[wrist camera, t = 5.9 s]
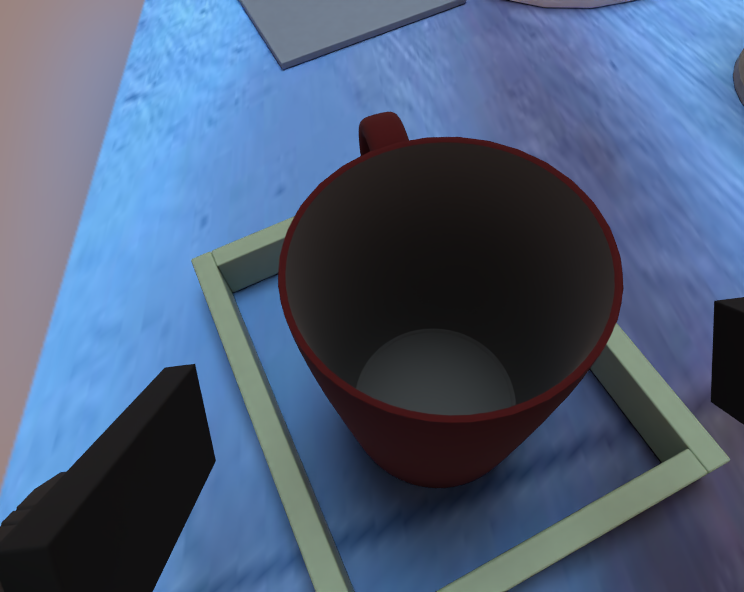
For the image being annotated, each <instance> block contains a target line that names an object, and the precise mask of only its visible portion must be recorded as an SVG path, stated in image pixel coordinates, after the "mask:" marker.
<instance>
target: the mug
mask: <svg viewBox="0 0 744 592" xmlns="http://www.w3.org/2000/svg"><path fill="white" fill-rule="evenodd" d="M359 145H360V154H361V156H360V157H359V158H357V159H355V160H353V161H351V162H349V163H347V164H345V165H344V166H342V167H341V168H339V169H338V170H337V171H335V172H334V173H333V174H331V175H330V176H329V177H328V178H326V179H325V180H324V181H323V182H321V183H320V184H319V185H318V186H317V187H316V189H315V190H314V191H313V192H312V193H311V194H310V195H309V196H308V198H307V199H306V200H305V201H304V202H303V204H302V205H301V206H300V208H299V210H298V211H297V213H296V215H295V216H294V218H293V220H292V222H291V224H290V226H289V228H288V230H287V233H286V236H285V239H284V242H283V245H282V249H281V253H280V257H279V269H278V288H279V294H280V300H281V304H282V308H283V312H284V315H285V318H286V321H287V324H288V326H289V328H290V331H291V333H292V335H293V338H294V340H295V342H296V344H297V346H298V348H299V350H300V352H301V354H302V356H303V357H304V359H305V361H306V363H307V365H308V367H309V368H310V370H311V372H312V374H313V375H314V377H315V379H316V381H317V382H318V384H319V385H320V387H321V388H322V390H323V392H324V393H325V395H326V396H327V398H328V399H329V401H330V402H331V404H332V405H333V407H334V408H335V410H336V411H337V413H338V414H339V415H340V417H341V418H342V420H343V421H344V423H345V424H346V425H347V427H348V428H349V430H350V431H351V432H352V434H353V435H354V437H355V438H356V439H357V441H358V442H359V443H360V445H361V446H362V448H363V449H364V450H365V452H366V453H367V454H368V455H369V456H370V457H371V459H372V460H373V461H374V462H375V463H376V464H377V465H379V466H380V467H381V468H382V469H383V470H385V471H386V472H388V473H389V474H390V475H392V476H394V477H396V478H398V479H400V480H402V481H404V482H407V483H410V484H413V485H417V486H422V487H428V488H448V487H455V486H459V485H463V484H466V483H469V482H472V481H474V480H476V479H478V478H480V477H482V476H483V475H485V474H486V473H488V472H489V471H491V470H492V469H493V468H494V467H496V466H497V465H498V464H499V463H500V462H501V461H503V460H504V459H505V458H506V457H507V456H508V455H509V454H510V453H511V452H512V451H513V450H515V449H516V448H517V447H518V446H519V445H520V444H521V443H522V442H523V441H524V440H525V439H526V438H527V437H528V436H529V435H531V434H532V433H533V432H534V431H535V430H536V429H537V428H538V427H539V426H540V425H541V424H542V423H543V422H544V421H545V420H546V419H547V418H548V417H549V416H550V415H551V413H552V412H553V411H554V410H555V409H556V408H557V407H558V406H559V405H560V404H561V403H562V402H563V401H564V400H565V399H566V398H567V397H568V396H569V394H570V393H571V392H572V391H573V390H574V388H575V387H576V386H577V385H578V384H579V382H580V381H581V380H582V379H583V377H584V376H585V375H586V373H587V372H588V371H589V369H590V368H591V367H592V365H593V364H594V362H595V361H596V360H597V358H598V357H599V356H600V354H601V352H602V351H603V349H604V348H605V346H606V344H607V342H608V340H609V338H610V336H611V334H612V332H613V330H614V327H615V325H616V322H617V320H618V316H619V311H620V307H621V302H622V294H623V273H622V265H621V258H620V254H619V251H618V248H617V245H616V242H615V239H614V237H613V234H612V232H611V229H610V227H609V225H608V224H607V222H606V220H605V219H604V217H603V216H602V214H601V213H600V211H599V210H598V208H597V207H596V205H595V204H594V202H593V201H592V200H591V199H590V198H589V197H588V196H587V195H586V194H585V193H584V192H583V191H582V190H581V189H580V188H579V187H578V186H577V185H576V184H575V183H574V182H573V181H572V180H571V179H569V178H568V177H567V176H565V175H564V174H562V173H561V172H559V171H558V170H557V169H555V168H554V167H552V166H551V165H549V164H548V163H546V162H544V161H542V160H540V159H538V158H536V157H534V156H531V155H529V154H527V153H525V152H523V151H521V150H518V149H515V148H512V147H508V146H505V145H501V144H498V143H494V142H491V141H485V140H478V139H470V138H462V137H430V138H421V139H416V140H410V141H409V139H408V136H407V133H406V131H405V128H404V126H403V124H402V122H401V120H400V118H399V117H398V116H397V114H395V113H393V112H383V113H379V114H375V115H371V116H368V117H366V118H364V119H363V120H362V121H361V122H360V125H359Z"/></svg>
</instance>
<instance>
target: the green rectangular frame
mask: <svg viewBox="0 0 744 592" xmlns="http://www.w3.org/2000/svg"><path fill="white" fill-rule="evenodd" d="M293 218H294V217H292V218H289V219H287V220H285V221H282V222H280V223H277V224H275V225H273V226H270V227H268V228H265V229H263V230H261V231H258V232H256V233H253V234H251V235H249V236H246V237H244V238H241V239H239V240H237V241H234V242H232V243H229V244H227V245H225V246H222V247H220V248H217V249H215V250H213V251H212V253H211V252H208V253H205V254H203V255H200V256H198V257H196V258H193V259H192V260H191V261H192V264H193V267H194V269H195V272H196V275H197V277H198V280H199V283H200V285H201V288H202V291H203V293H204V296H205V299H206V301H207V304H208V307H209V309H210V312H211V315H212V317H213V320H214V323H215V325H216V328H217V331H218V333H219V336H220V339H221V341H222V344H223V347H224V349H225V352H226V354H227V357H228V360H229V362H230V365H231V368H232V370H233V373H234V376H235V378H236V381H237V384H238V386H239V389H240V392H241V394H242V397H243V400H244V402H245V405H246V408H247V410H248V413H249V416H250V418H251V421H252V424H253V426H254V429H255V432H256V434H257V437H258V440H259V442H260V445H261V448H262V450H263V453H264V456H265V458H266V461H267V464H268V466H269V469H270V472H271V474H272V477H273V480H274V482H275V485H276V488H277V490H278V493H279V495H280V498H281V501H282V503H283V506H284V509H285V511H286V514H287V517H288V519H289V522H290V525H291V527H292V530H293V533H294V535H295V538H296V541H297V543H298V546H299V549H300V551H301V554H302V557H303V559H304V562H305V565H306V567H307V570H308V573H309V575H310V578H311V581H312V583H313V586H314V589H315V591H316V592H355V591H354V589H353V587H352V584H351V582H350V579H349V577H348V574H347V572H346V570H345V567H344V565H343V562H342V560H341V557H340V555H339V552H338V550H337V548H336V545H335V543H334V540H333V538H332V535H331V533H330V530H329V528H328V526H327V523H326V521H325V518H324V516H323V513H322V511H321V509H320V506H319V504H318V501H317V499H316V496H315V494H314V491H313V489H312V487H311V484H310V482H309V479H308V477H307V474H306V472H305V469H304V467H303V465H302V462H301V460H300V457H299V455H298V452H297V450H296V448H295V445H294V443H293V440H292V438H291V435H290V433H289V430H288V428H287V426H286V423H285V421H284V418H283V416H282V413H281V411H280V408H279V406H278V404H277V401H276V399H275V396H274V394H273V391H272V389H271V387H270V384H269V382H268V379H267V377H266V374H265V372H264V369H263V367H262V365H261V362H260V360H259V357H258V355H257V352H256V350H255V347H254V345H253V343H252V340H251V338H250V335H249V333H248V330H247V328H246V326H245V323H244V321H243V318H242V316H241V313H240V311H239V308H238V306H237V304H236V301H235V299H234V296H233V294H232V292H236V291H238V290H240V289H243V288H245V287H247V286H250V285H252V284H254V283H256V282H259V281H261V280H263V279H266V278H268V277H270V276H273V275H275V274H277V273H278V269H279V257H280V253H281V249H282V245H283V242H284V239H285V236H286V233H287V230H288V228H289V226H290V224H291V222H292V220H293ZM590 369H591V370H592V372H593V373H594V374H595V376H596V377H597V378H598V379H599V381H600V382H601V383H602V385H603V386H604V387H605V389H606V390H607V391H608V393H609V394H610V395H611V396H612V398H613V399H614V400H615V402H616V403H617V404H618V406H619V407H620V408H621V410H622V411H623V412H624V413H625V415H626V416H627V417H628V419H629V420H630V421H631V423H632V424H633V425H634V427H635V428H636V429H637V431H638V432H639V433H640V434H641V436H642V437H643V438H644V440H645V441H646V442H647V444H648V445H649V446H650V448H651V449H652V450H653V451H654V453H655V454H656V455H657V457H658V458H659V459H660V461H661V462H662V463H661V464H659V465H657V466H656V467H654V468H652V469H650V470H649V471H647V472H645V473H643V474H642V475H640V476H638V477H636V478H635V479H633V480H631V481H629V482H628V483H626V484H624V485H622V486H621V487H619V488H617V489H615V490H613V491H612V492H610V493H608V494H606V495H605V496H603V497H601V498H599V499H598V500H596V501H594V502H592V503H591V504H589V505H587V506H585V507H584V508H582V509H580V510H578V511H577V512H575V513H573V514H571V515H570V516H568V517H566V518H564V519H562V520H561V521H559V522H557V523H555V524H554V525H552V526H550V527H548V528H547V529H545V530H543V531H541V532H540V533H538V534H536V535H534V536H533V537H531V538H529V539H527V540H526V541H524V542H522V543H520V544H518V545H517V546H515V547H513V548H511V549H510V550H508V551H506V552H504V553H503V554H501V555H499V556H497V557H496V558H494V559H492V560H490V561H489V562H487V563H485V564H483V565H482V566H480V567H478V568H476V569H475V570H473V571H471V572H469V573H467V574H466V575H464V576H462V577H460V578H459V579H457V580H455V581H453V582H452V583H450V584H448V585H446V586H445V587H443V588H441V589H439V590H438V591H436V592H506V591H508V590H509V589H511V588H513V587H514V586H516V585H518V584H520V583H521V582H523V581H525V580H526V579H528V578H530V577H532V576H533V575H535V574H537V573H538V572H540V571H542V570H544V569H545V568H547V567H549V566H550V565H552V564H554V563H556V562H557V561H559V560H561V559H562V558H564V557H566V556H568V555H569V554H571V553H573V552H574V551H576V550H578V549H580V548H581V547H583V546H585V545H586V544H588V543H590V542H592V541H593V540H595V539H597V538H599V537H600V536H602V535H604V534H605V533H607V532H609V531H611V530H612V529H614V528H616V527H617V526H619V525H621V524H623V523H624V522H626V521H628V520H629V519H631V518H633V517H635V516H636V515H638V514H640V513H641V512H643V511H645V510H647V509H648V508H650V507H652V506H653V505H655V504H657V503H659V502H660V501H662V500H664V499H665V498H667V497H669V496H671V495H672V494H674V493H676V492H677V491H679V490H681V489H683V488H684V487H686V486H688V485H689V484H691V483H693V482H695V481H696V480H698V479H700V478H701V477H703V476H705V475H706V474H708V473H710V472H712V471H713V470H715V469H717V468H719V467H720V466H722V465H724V464H725V463H727V462H729V461H730V459H729V457H728V456H727V455H726V454H725V452H724V451H723V450H722V449H721V448H720V446H719V445H718V444H717V443H716V442H715V440H714V439H713V438H712V437H711V436H710V434H709V433H708V432H707V431H706V430H705V428H704V427H703V426H702V425H701V424H700V422H699V421H698V420H697V419H696V418H695V416H694V415H693V414H692V413H691V412H690V410H689V409H688V408H687V407H686V406H685V404H684V403H683V402H682V401H681V400H680V398H679V397H678V396H677V395H676V394H675V392H674V391H673V390H672V389H671V388H670V386H669V385H668V384H667V383H666V382H665V380H664V379H663V378H662V377H661V376H660V374H659V373H658V372H657V371H656V370H655V368H654V367H653V366H652V365H651V364H650V362H649V361H648V360H647V359H646V358H645V356H644V355H643V354H642V353H641V352H640V350H639V349H638V348H637V347H636V346H635V344H634V343H633V342H632V341H631V340H630V339H629V337H628V336H627V335H626V334H625V333H624V331H623V330H622V329H621V328H620V327H619V325H618V324H617V323H616V325H615V327H614V330H613V332H612V334H611V336H610V338H609V340H608V342H607V344H606V346H605V348H604V349H603V351H602V352H601V354H600V356H599V357H598V358H597V360H596V361H595V362H594V364H593V365H592V367H591V368H590Z"/></svg>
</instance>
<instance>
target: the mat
mask: <svg viewBox="0 0 744 592" xmlns="http://www.w3.org/2000/svg"><path fill="white" fill-rule="evenodd" d="M239 2H240V3H241V5H242V6H243V8H244V10H245V11H246V13H247V14H248V16H249V17H250V19H251V20H252V22H253V24H254V25H255V27H256V28H257V30H258V31H259V33H260V35H261V36H262V38H263V39H264V41H265V42H266V44H267V46H268V47H269V49H270V50H271V52H272V53H273V55H274V57H275V58H276V60H277V61H278V63H279V64H280V66H281V68H282V69H286V68H289V67H292V66H294V65H297V64H300V63H303V62H305V61H308V60H311V59H313V58H316V57H319V56H322V55H324V54H327V53H330V52H333V51H335V50H338V49H341V48H344V47H346V46H349V45H352V44H354V43H357V42H360V41H363V40H365V39H368V38H371V37H374V36H376V35H379V34H382V33H385V32H387V31H390V30H393V29H395V28H398V27H401V26H404V25H406V24H409V23H412V22H415V21H417V20H420V19H423V18H426V17H428V16H431V15H434V14H436V13H439V12H442V11H445V10H447V9H450V8H453V7H456V6H458V5H461V4H464V3H466V0H239Z"/></svg>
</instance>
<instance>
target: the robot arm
mask: <svg viewBox="0 0 744 592" xmlns="http://www.w3.org/2000/svg"><path fill="white" fill-rule="evenodd" d="M711 402H712V403H713V404H715V405H716V406H718V407H719V408H721V409H722V410H723V411H725V412H726V413H728V414H729V415H731V416H732V417H734V418H735V419H736V420H738V421H739V422H741V423H742V424H744V297H742V298H734V299H726V300H717V301H714V326H713V354H712V382H711ZM215 461H216V459H215V455H214V450H213V445H212V441H211V436H210V431H209V427H208V422H207V418H206V413H205V408H204V404H203V399H202V394H201V390H200V385H199V380H198V376H197V371H196V367H195V364H191V365H182V366H174V367H166V368H164V369H163V370H162V371H161V372H160V373H159V374H158V376H157V377H156V378H155V379H154V380H153V381H152V382H151V383H150V384H149V385H148V386H147V387H146V388H145V389H144V390H143V391H142V392H141V394H140V395H139V396H138V397H137V398H136V399H135V400H134V401H133V402H132V403H131V404H130V405H129V406H128V407H127V408H126V409H125V410H124V412H123V413H122V414H121V415H120V416H119V417H118V418H117V419H116V420H115V421H114V422H113V423H112V424H111V425H110V426H109V427H108V428H107V430H106V431H105V432H104V433H103V434H102V435H101V436H100V437H99V438H98V439H97V440H96V441H95V442H94V443H93V444H92V445H91V446H90V448H89V449H88V450H87V451H86V452H85V453H84V454H83V455H82V456H81V457H80V458H79V459H78V460H77V461H76V462H75V463H74V464H73V466H72V467H71V468H70V469H69V470H68V471H67V472H60V473H59V474H57V475H56V476H54V477H53V478H51V479H50V480H48V481H47V482H45V483H43V484H42V485H40V486H39V487H37V488H36V489H34V490H33V491H32V492H31V493H30V494H29V495H28V496H27V497H26V498H25V499H24V501H23V502H22V503H21V504H20V505H19V506H18V507H17V510H16V511H13V512H12V513H11V514H10V515H9V516H8V517H7V518H6V519H5V520H4V521H3V522H2V523H1V527H0V592H153V590H154V588H155V586H156V583H157V581H158V579H159V577H160V575H161V573H162V571H163V569H164V567H165V565H166V563H167V561H168V559H169V557H170V555H171V552H172V550H173V548H174V546H175V544H176V542H177V540H178V538H179V536H180V534H181V532H182V530H183V528H184V526H185V524H186V521H187V519H188V517H189V515H190V513H191V511H192V509H193V507H194V505H195V503H196V501H197V499H198V497H199V495H200V493H201V490H202V488H203V486H204V484H205V482H206V480H207V478H208V476H209V474H210V472H211V470H212V468H213V466H214V464H215Z"/></svg>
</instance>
